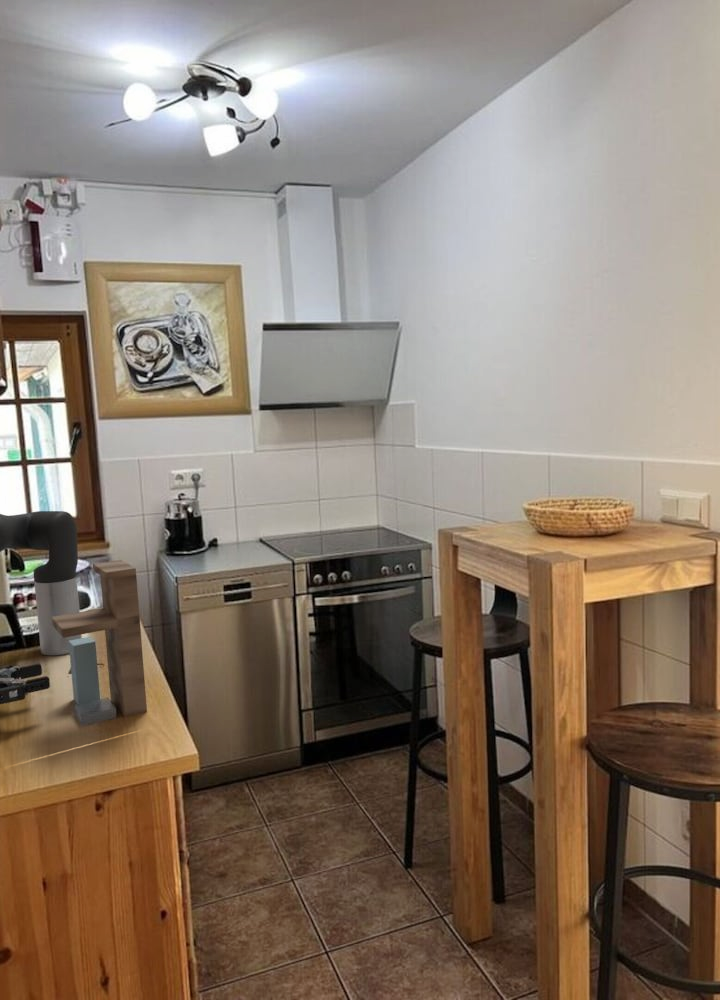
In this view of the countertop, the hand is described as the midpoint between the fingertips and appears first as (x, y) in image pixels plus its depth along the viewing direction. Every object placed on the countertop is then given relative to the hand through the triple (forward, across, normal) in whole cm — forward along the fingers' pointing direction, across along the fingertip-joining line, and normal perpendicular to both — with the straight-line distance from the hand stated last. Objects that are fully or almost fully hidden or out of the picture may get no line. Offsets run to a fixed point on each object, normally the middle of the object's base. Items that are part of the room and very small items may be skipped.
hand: (45, 675), depth 138 cm
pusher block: (+7, 0, +7) cm, 10 cm away
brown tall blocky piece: (+8, -8, +7) cm, 13 cm away
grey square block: (+6, -9, +7) cm, 13 cm away
